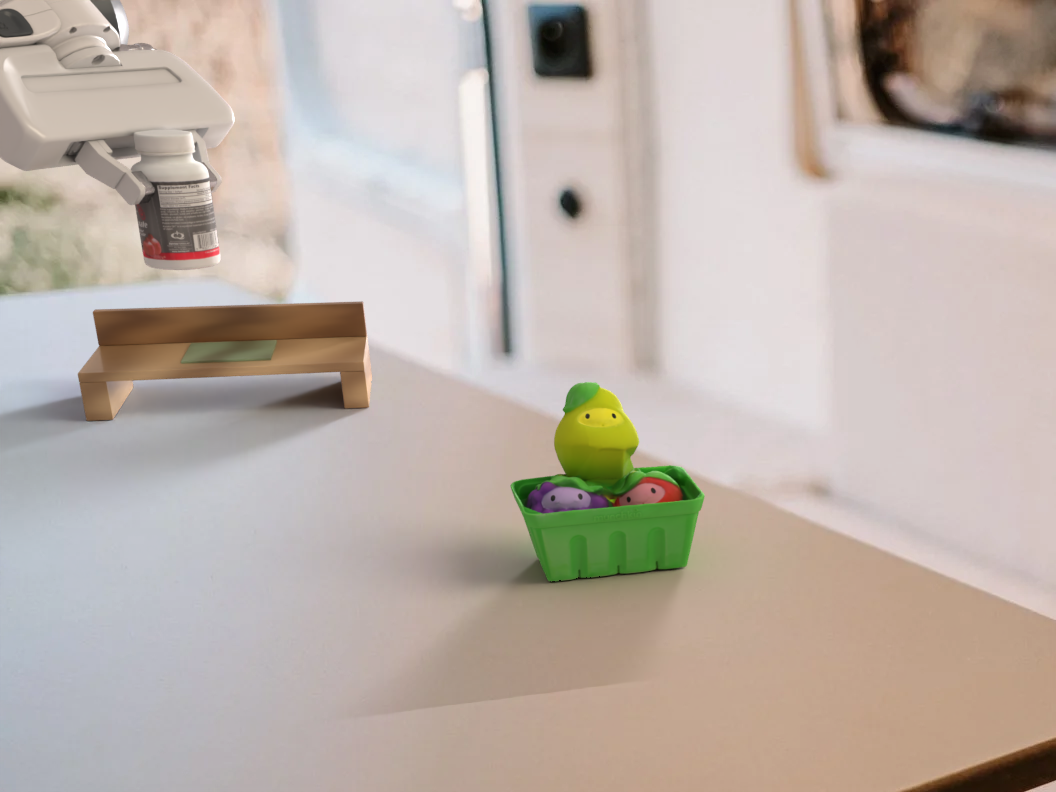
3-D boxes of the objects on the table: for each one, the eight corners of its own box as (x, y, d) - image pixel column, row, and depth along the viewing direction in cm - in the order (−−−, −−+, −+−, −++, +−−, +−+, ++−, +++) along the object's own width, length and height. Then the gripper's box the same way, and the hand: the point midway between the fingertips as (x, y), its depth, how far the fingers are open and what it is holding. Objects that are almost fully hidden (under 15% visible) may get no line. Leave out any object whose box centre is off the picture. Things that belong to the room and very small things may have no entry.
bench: (86, 421, 132) (70, 336, 130) (108, 388, 142) (94, 309, 139) (369, 407, 139) (359, 326, 136) (372, 377, 148) (363, 301, 146)
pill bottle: (135, 262, 124) (114, 129, 120) (209, 256, 127) (190, 127, 123) (156, 273, 120) (134, 137, 116) (231, 267, 123) (212, 134, 119)
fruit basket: (530, 592, 100) (516, 415, 96) (512, 546, 108) (497, 380, 103) (710, 573, 104) (704, 402, 100) (680, 530, 112) (673, 370, 107)
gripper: (141, 71, 131) (256, 204, 132) (-84, 86, 113) (51, 239, 114) (177, 15, 128) (294, 152, 129) (-49, 21, 110) (89, 179, 111)
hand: (178, 193), depth 121 cm, fingers closed on pill bottle, 5 cm apart
